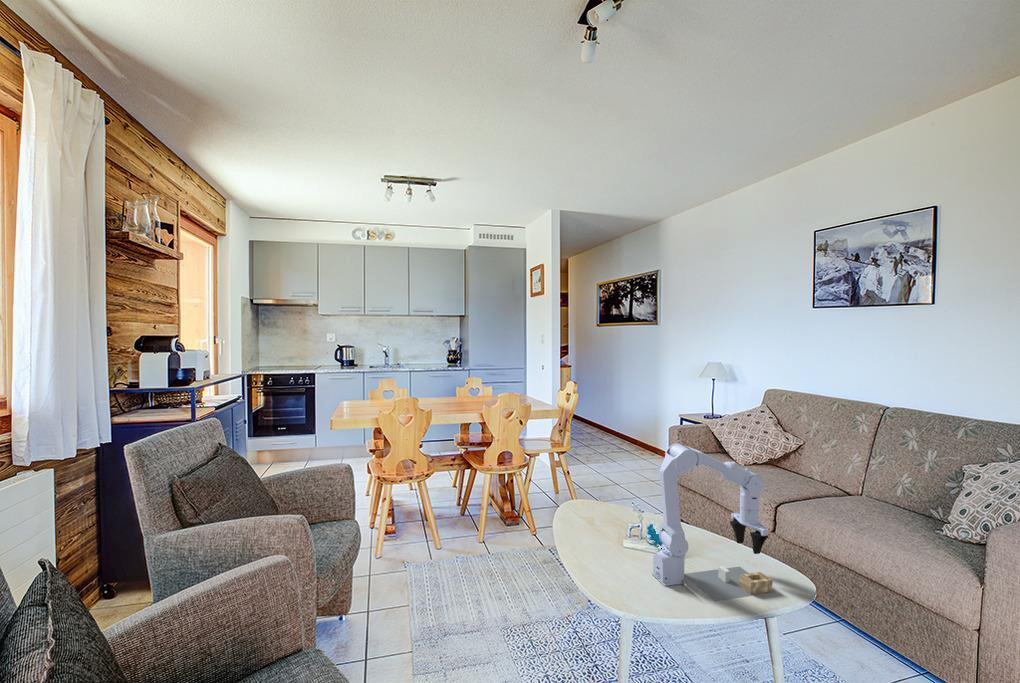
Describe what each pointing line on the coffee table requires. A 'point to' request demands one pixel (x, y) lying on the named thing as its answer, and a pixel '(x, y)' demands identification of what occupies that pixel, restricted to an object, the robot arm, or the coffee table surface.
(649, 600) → the coffee table surface
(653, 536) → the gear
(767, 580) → the open rectangular tan frame
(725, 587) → the board
